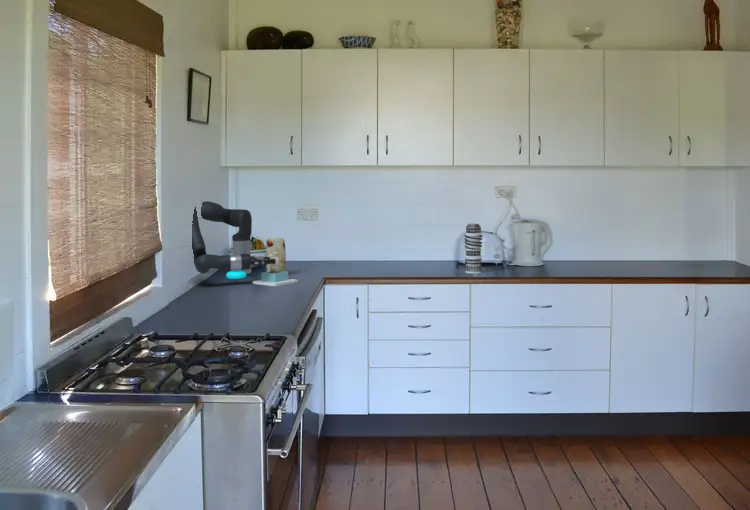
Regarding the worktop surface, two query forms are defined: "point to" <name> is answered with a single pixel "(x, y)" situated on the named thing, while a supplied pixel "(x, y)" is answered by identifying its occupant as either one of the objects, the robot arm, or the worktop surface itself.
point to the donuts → (236, 274)
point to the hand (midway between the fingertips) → (273, 260)
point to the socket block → (274, 279)
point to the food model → (277, 245)
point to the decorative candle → (473, 248)
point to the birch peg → (275, 267)
